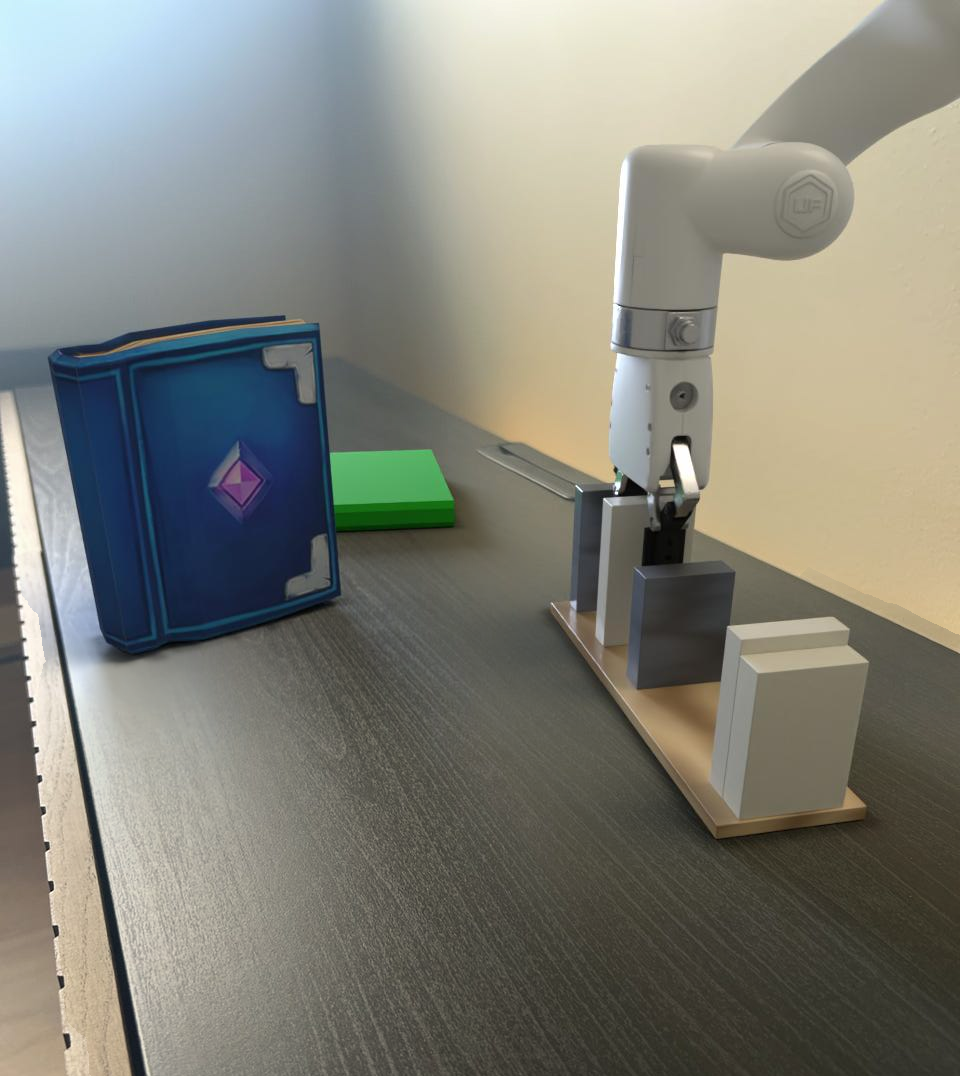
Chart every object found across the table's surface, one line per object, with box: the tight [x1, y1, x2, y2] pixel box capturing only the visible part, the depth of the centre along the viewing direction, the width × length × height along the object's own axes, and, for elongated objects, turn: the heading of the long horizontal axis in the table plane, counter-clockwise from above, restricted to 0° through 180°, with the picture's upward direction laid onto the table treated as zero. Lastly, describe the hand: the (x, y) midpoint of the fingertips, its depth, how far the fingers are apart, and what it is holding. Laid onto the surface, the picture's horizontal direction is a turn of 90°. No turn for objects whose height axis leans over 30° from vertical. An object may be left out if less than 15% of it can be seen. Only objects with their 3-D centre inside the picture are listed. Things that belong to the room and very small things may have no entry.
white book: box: [595, 495, 697, 647], centre depth 85 cm, size 7×2×12 cm, turn 103°
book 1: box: [47, 314, 342, 655], centre depth 88 cm, size 22×7×25 cm, turn 129°
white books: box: [709, 616, 870, 820], centre depth 64 cm, size 7×4×11 cm, turn 103°
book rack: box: [550, 482, 867, 840], centre depth 78 cm, size 10×36×12 cm, turn 13°
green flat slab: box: [330, 448, 456, 532], centre depth 124 cm, size 22×28×3 cm
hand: (645, 558), depth 85 cm, fingers open, 6 cm apart
